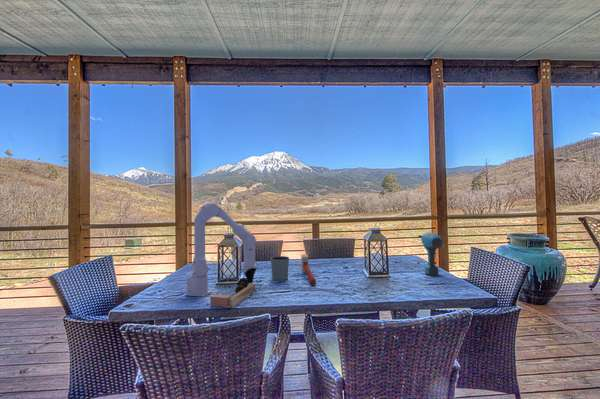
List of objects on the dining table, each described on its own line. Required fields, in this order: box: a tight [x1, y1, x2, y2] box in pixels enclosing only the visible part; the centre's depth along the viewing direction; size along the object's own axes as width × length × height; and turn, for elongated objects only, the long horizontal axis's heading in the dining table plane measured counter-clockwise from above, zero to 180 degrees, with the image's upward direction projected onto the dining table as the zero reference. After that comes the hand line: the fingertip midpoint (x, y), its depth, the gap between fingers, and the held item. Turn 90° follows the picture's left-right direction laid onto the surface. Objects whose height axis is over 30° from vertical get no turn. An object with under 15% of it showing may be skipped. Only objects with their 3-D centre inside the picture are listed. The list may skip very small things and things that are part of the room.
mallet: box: [300, 253, 317, 286], centre depth 170 cm, size 11×4×30 cm
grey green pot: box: [270, 255, 290, 283], centre depth 169 cm, size 10×10×12 cm
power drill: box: [418, 232, 443, 277], centre depth 175 cm, size 28×9×23 cm, turn 179°
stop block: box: [210, 293, 232, 308], centre depth 130 cm, size 8×3×4 cm, turn 74°
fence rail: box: [228, 282, 256, 309], centre depth 139 cm, size 2×23×4 cm, turn 164°
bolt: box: [234, 277, 250, 294], centre depth 147 cm, size 6×5×15 cm
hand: (250, 282), depth 159 cm, fingers closed
